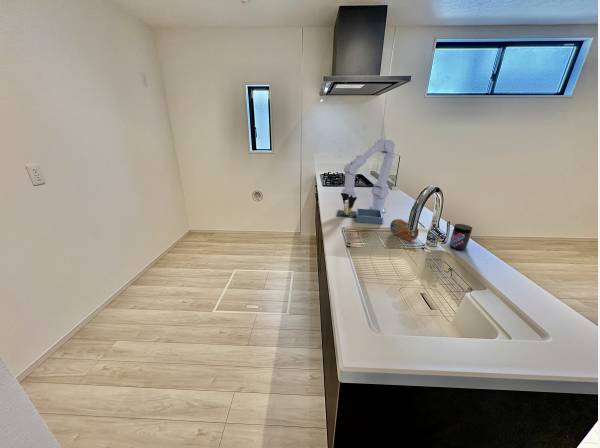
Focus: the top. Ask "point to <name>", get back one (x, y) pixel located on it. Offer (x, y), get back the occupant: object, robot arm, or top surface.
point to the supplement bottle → (347, 208)
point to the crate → (369, 219)
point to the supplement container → (460, 237)
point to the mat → (341, 214)
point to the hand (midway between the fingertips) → (347, 205)
